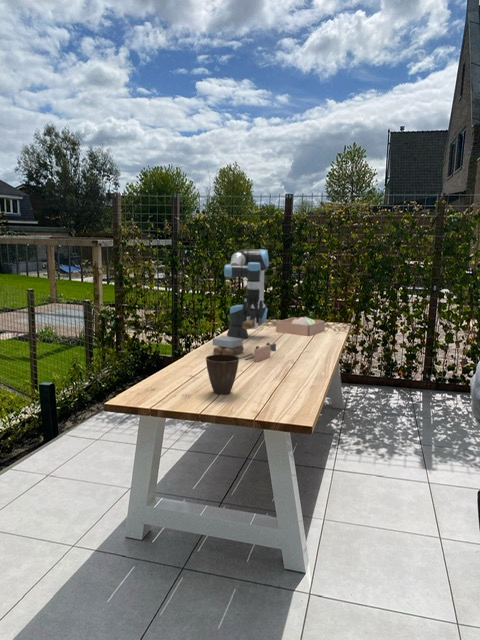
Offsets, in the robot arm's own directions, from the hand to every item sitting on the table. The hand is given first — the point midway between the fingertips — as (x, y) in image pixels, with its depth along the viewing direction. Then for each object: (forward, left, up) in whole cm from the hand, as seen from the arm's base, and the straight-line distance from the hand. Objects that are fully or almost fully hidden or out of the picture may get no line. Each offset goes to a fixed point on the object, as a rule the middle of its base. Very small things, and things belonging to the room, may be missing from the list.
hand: (252, 327), depth 292 cm
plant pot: (+70, +25, -18) cm, 76 cm away
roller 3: (0, 0, 0) cm, 0 cm away
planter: (-99, -13, -18) cm, 102 cm away
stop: (+2, +9, -18) cm, 20 cm away
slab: (+2, -16, -12) cm, 20 cm away
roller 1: (+2, -18, -18) cm, 26 cm away
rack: (-16, +1, -18) cm, 24 cm away
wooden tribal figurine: (-99, -14, -18) cm, 102 cm away
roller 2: (+2, -12, -18) cm, 22 cm away
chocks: (+2, -9, -18) cm, 20 cm away
